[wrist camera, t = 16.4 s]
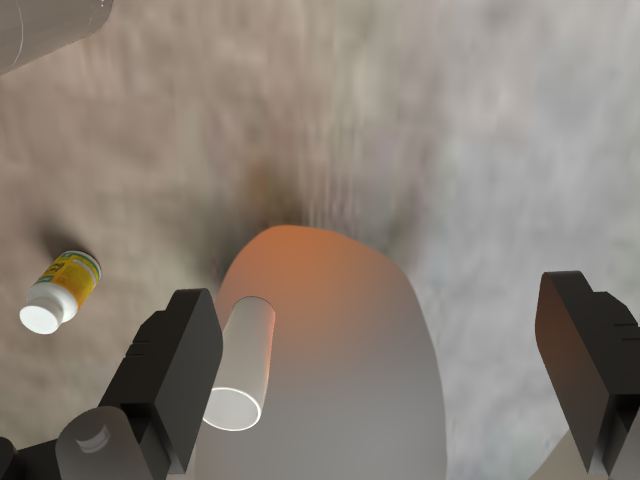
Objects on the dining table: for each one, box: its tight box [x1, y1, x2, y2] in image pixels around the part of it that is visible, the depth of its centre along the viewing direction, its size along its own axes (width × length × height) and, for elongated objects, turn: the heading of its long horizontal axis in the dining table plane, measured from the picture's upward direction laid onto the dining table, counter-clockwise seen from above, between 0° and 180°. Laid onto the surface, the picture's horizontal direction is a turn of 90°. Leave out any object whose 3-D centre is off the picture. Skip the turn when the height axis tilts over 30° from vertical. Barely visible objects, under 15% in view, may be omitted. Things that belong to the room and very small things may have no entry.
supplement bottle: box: [20, 251, 101, 334], centre depth 58 cm, size 5×5×10 cm
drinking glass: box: [203, 296, 275, 431], centre depth 57 cm, size 7×7×15 cm
